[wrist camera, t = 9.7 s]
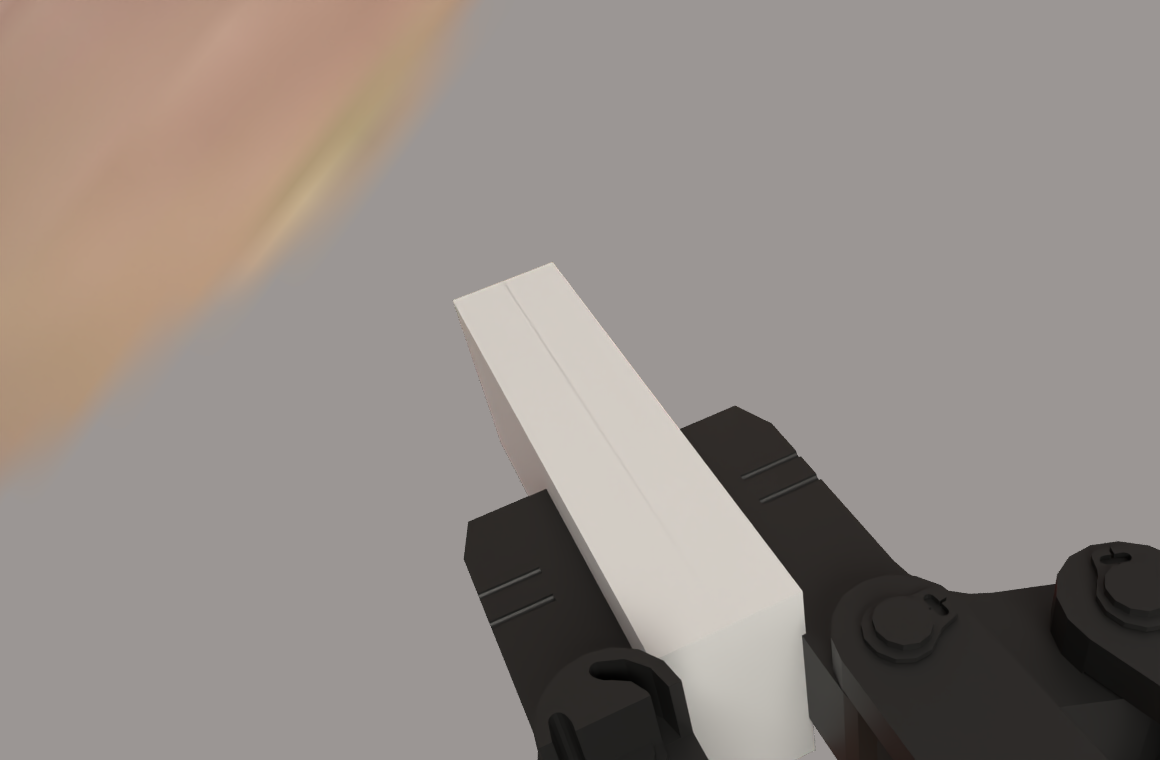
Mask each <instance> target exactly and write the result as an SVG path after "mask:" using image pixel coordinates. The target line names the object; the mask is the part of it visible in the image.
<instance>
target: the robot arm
mask: <svg viewBox="0 0 1160 760" xmlns="http://www.w3.org/2000/svg"><path fill="white" fill-rule="evenodd" d="M453 303H454V306H455V309H456V312H457V314H458V318H459V321H460V323H461V326H462V329H463V332H464V335H465V338H466V341H467V344H468V347H469V350H470V353H471V356H472V359H473V362H474V365H475V368H476V371H477V373H478V377H479V379H480V383H481V386H482V388H483V391H484V394H485V397H486V400H487V403H488V406H489V409H490V412H491V415H492V418H493V420H494V424H495V427H496V430H497V433H498V436H499V439H500V442H501V444H502V446H503V448H504V450H505V452H506V454H507V456H508V458H509V460H510V461H511V464H512V465H513V467H514V469H515V471H516V473H517V475H518V477H519V479H520V481H521V483H522V485H523V487H524V489H525V491H526V493H527V495H528V497H526V498H523V499H521V500H518V501H516V502H514V503H511V504H509V505H507V506H504V507H502V508H500V509H498V510H495V511H493V512H490V513H488V514H486V515H483V516H481V517H479V518H476V519H474V520H472V521H469V522H468V529H467V537H466V545H465V553H464V561H465V563H466V566H467V568H468V571H469V573H470V576H471V578H472V581H473V583H474V586H475V588H476V591H477V593H478V596H479V598H480V601H481V603H482V605H483V608H484V611H485V613H486V616H487V618H488V621H489V623H490V626H491V628H492V630H493V633H494V635H495V638H496V641H497V643H498V646H499V648H500V650H501V653H502V656H503V658H504V660H505V663H506V665H507V668H508V670H509V673H510V675H511V678H512V680H513V683H514V685H515V688H516V690H517V693H518V695H519V698H520V700H521V703H522V705H523V708H524V710H525V713H526V715H527V718H528V720H529V723H530V725H531V728H532V730H533V733H534V737H535V741H536V745H537V749H538V760H797V759H799V758H801V757H803V756H805V755H807V754H809V753H811V752H813V751H815V738H814V726H815V727H816V729H817V730H818V732H819V733H820V735H821V736H822V737H823V739H824V740H825V742H826V744H827V745H828V746H829V748H830V749H831V751H832V752H833V754H834V755H835V757H836V758H837V760H1160V550H1158V549H1156V548H1153V547H1151V546H1148V545H1140V544H1133V543H1126V542H1119V541H1118V542H1110V543H1104V544H1096V545H1090V546H1088V547H1086V548H1085V549H1083V550H1081V551H1079V552H1077V553H1075V554H1073V555H1072V556H1070V557H1069V558H1068V559H1067V561H1066V562H1065V564H1064V566H1063V567H1062V568H1061V570H1060V571H1059V573H1058V574H1057V579H1056V584H1052V585H1045V586H1038V587H1030V588H1024V589H1016V590H1009V591H1002V592H995V593H978V594H967V593H959V592H952V591H948V590H946V589H945V588H944V587H943V586H941V585H939V584H936V583H933V582H930V581H927V580H925V579H922V578H919V577H916V576H912V575H910V574H908V573H907V572H906V571H905V570H904V569H902V568H901V567H900V566H899V565H898V564H897V563H896V562H894V561H893V560H892V559H891V557H890V556H889V555H888V554H887V553H886V552H885V551H884V549H883V548H882V547H881V546H880V545H879V544H878V543H877V542H876V540H875V539H874V538H873V537H872V536H871V535H870V534H869V533H868V531H867V530H866V529H865V528H864V527H863V526H862V525H861V524H860V522H859V521H858V520H857V519H856V518H855V517H854V516H853V515H852V514H851V512H850V511H849V510H848V509H847V508H846V507H845V506H844V505H843V503H842V502H841V501H840V500H839V499H838V498H837V497H836V495H835V494H834V493H833V492H832V491H831V490H830V489H829V488H828V486H827V485H826V484H825V483H824V482H823V481H822V480H821V479H820V480H819V479H818V478H817V476H816V473H815V472H814V471H813V470H812V468H811V467H810V466H809V465H808V464H807V463H806V462H805V461H804V459H803V458H802V457H798V455H797V453H796V450H795V449H794V448H793V447H792V446H791V445H790V444H789V443H788V441H787V440H786V439H785V438H784V437H783V436H782V435H781V434H780V433H779V431H778V430H777V429H776V428H775V427H774V426H773V425H772V424H771V423H770V422H768V421H765V420H763V419H761V418H759V417H757V416H755V415H753V414H751V413H749V412H747V411H745V410H743V409H741V408H739V407H737V406H733V407H731V408H729V409H726V410H724V411H721V412H719V413H717V414H715V415H712V416H710V417H707V418H705V419H703V420H701V421H698V422H696V423H693V424H691V425H689V426H686V427H684V428H681V429H679V428H678V426H677V425H676V424H675V423H674V421H673V420H672V419H671V417H670V416H669V415H668V413H667V412H666V411H665V409H664V408H663V407H662V405H661V404H660V403H659V401H657V399H656V398H655V396H654V395H653V394H652V392H651V391H650V390H649V388H648V387H647V386H646V384H645V383H644V382H643V380H642V379H641V378H640V376H639V375H638V374H637V373H636V371H635V370H634V369H633V367H632V366H631V365H630V363H629V362H628V361H627V359H626V358H625V357H624V355H623V354H622V353H621V351H620V350H619V349H618V347H617V346H616V345H615V344H614V342H613V341H612V340H611V338H610V337H609V336H608V334H607V333H606V332H605V330H604V329H603V328H602V327H601V325H600V324H599V323H598V321H597V320H596V318H595V317H594V316H593V315H592V313H591V312H590V311H589V309H588V308H587V307H586V305H585V304H584V303H583V301H582V300H581V299H580V297H579V296H578V295H577V293H576V292H575V291H574V290H573V288H572V287H571V286H570V284H569V283H568V282H567V280H566V279H565V278H564V276H563V275H562V274H561V272H560V271H559V270H558V268H557V267H556V266H555V264H554V263H553V262H552V263H549V264H546V265H544V266H541V267H538V268H536V269H533V270H531V271H528V272H525V273H523V274H520V275H518V276H515V277H513V278H510V279H508V280H505V281H502V282H499V283H497V284H494V285H492V286H489V287H486V288H484V289H481V290H479V291H476V292H473V293H471V294H468V295H466V296H463V297H460V298H458V299H455V300H453ZM813 724H814V726H813Z"/></svg>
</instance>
